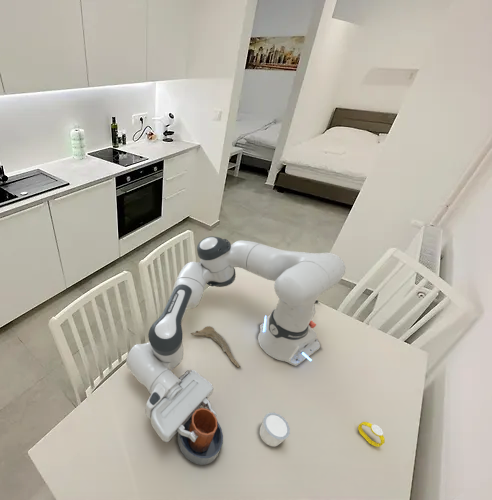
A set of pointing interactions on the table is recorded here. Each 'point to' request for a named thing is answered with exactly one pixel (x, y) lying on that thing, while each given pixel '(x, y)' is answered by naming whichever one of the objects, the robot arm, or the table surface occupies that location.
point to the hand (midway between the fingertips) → (205, 428)
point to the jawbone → (215, 336)
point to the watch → (375, 430)
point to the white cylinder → (274, 429)
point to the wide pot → (201, 457)
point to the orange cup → (202, 429)
